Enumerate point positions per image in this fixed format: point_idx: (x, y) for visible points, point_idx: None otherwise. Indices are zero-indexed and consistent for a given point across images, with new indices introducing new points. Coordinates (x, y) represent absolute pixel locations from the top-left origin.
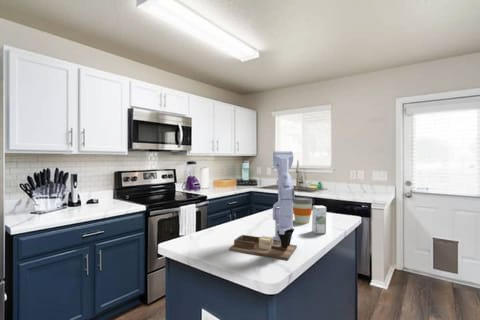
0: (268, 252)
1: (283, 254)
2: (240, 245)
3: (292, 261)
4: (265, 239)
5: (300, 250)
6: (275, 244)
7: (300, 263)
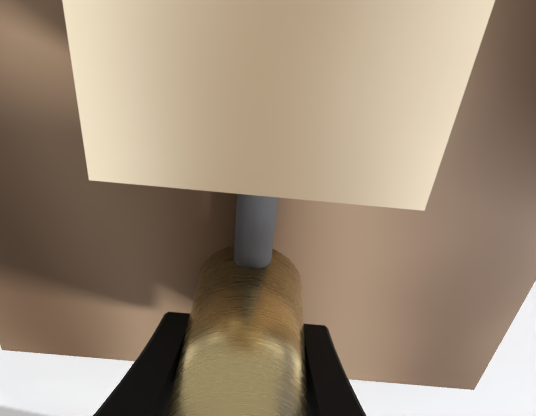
0: (5, 99)
1: (66, 301)
2: None
3: (17, 358)
4: (99, 31)
5: (371, 395)
6: (479, 138)
7: (19, 408)
